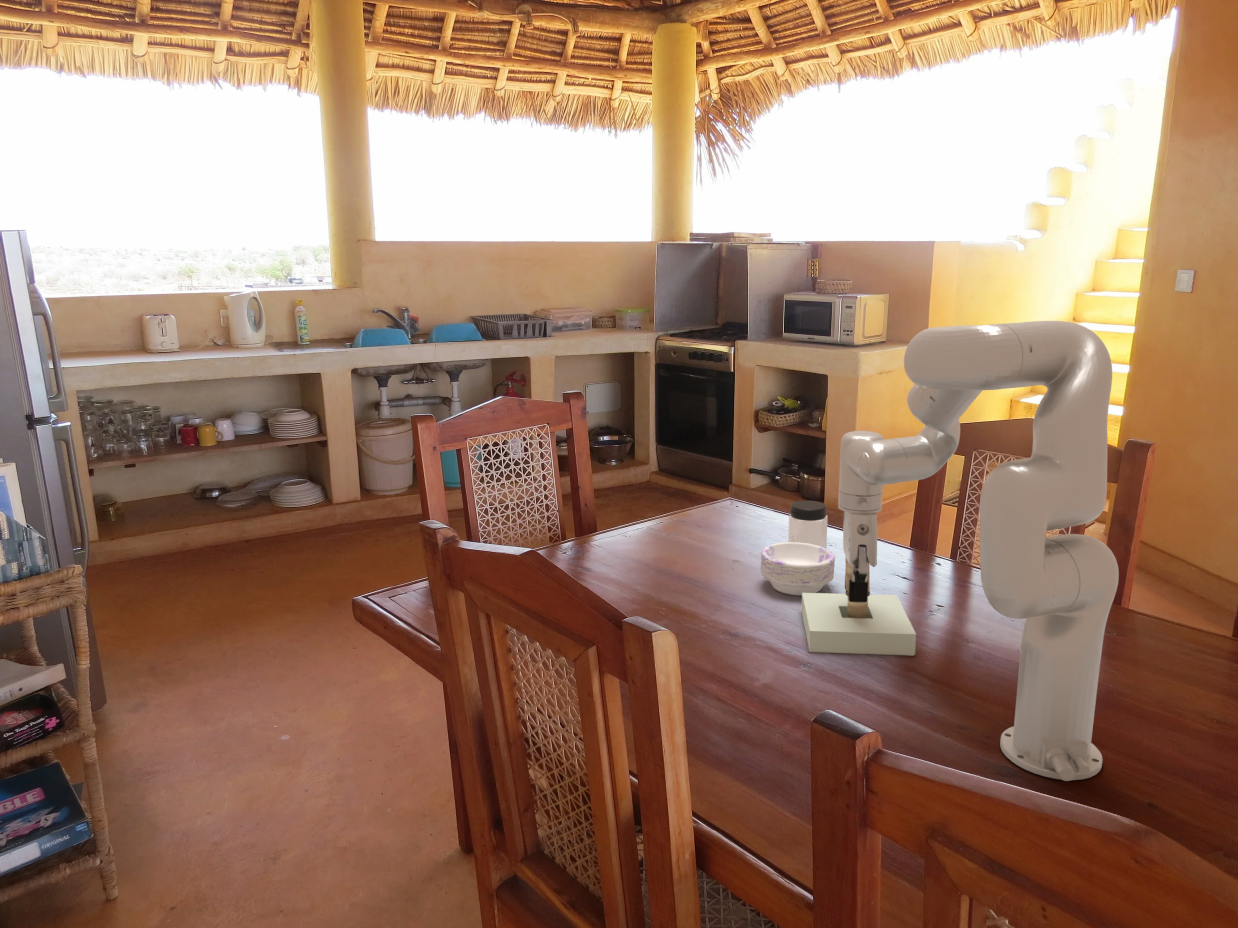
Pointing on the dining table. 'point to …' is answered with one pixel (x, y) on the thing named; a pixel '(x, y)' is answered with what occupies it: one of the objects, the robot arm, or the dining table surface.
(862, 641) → the board
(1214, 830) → the dining table surface
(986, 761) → the dining table surface
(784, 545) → the paper bowls
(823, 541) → the jar
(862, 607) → the peg
